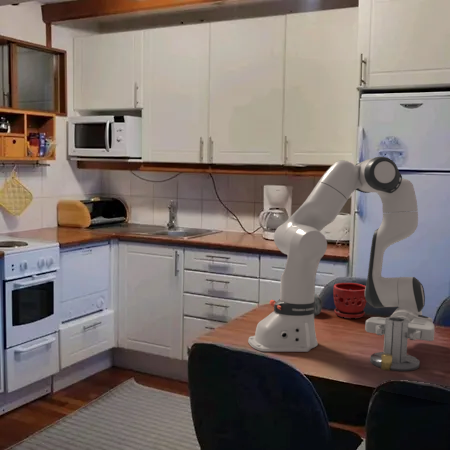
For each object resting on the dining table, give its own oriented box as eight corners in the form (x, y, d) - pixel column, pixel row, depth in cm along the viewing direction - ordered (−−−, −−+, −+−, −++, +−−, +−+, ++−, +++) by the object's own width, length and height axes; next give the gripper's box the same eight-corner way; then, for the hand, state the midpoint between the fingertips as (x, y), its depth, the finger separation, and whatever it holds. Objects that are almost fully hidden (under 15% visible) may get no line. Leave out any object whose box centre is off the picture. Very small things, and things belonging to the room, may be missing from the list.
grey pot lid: (385, 372, 168) (386, 354, 167) (361, 357, 181) (362, 340, 181) (429, 369, 171) (430, 352, 171) (402, 354, 185) (403, 338, 184)
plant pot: (325, 313, 234) (326, 283, 233) (352, 310, 240) (354, 281, 239) (345, 321, 222) (347, 290, 221) (373, 318, 228) (375, 287, 227)
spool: (330, 308, 229) (317, 285, 230) (309, 320, 227) (297, 297, 228) (319, 308, 242) (307, 286, 243) (299, 320, 240) (288, 298, 241)
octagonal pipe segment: (384, 361, 174) (386, 321, 172) (382, 354, 180) (384, 316, 179) (407, 363, 172) (409, 323, 171) (404, 356, 179) (406, 317, 177)
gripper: (370, 310, 191) (360, 319, 179) (437, 318, 182) (432, 329, 170) (369, 329, 192) (359, 340, 179) (436, 338, 183) (430, 350, 170)
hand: (395, 334), depth 174 cm, fingers open, 8 cm apart
